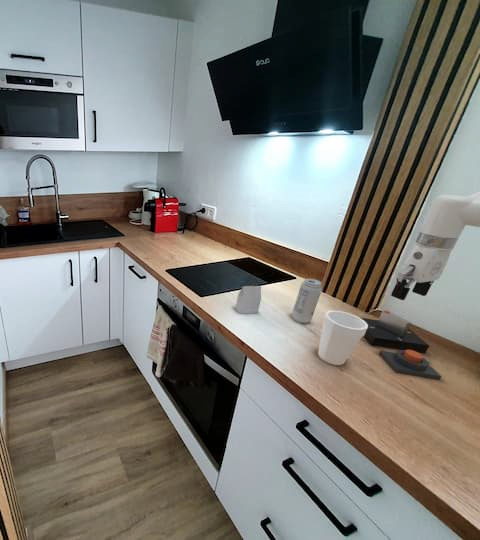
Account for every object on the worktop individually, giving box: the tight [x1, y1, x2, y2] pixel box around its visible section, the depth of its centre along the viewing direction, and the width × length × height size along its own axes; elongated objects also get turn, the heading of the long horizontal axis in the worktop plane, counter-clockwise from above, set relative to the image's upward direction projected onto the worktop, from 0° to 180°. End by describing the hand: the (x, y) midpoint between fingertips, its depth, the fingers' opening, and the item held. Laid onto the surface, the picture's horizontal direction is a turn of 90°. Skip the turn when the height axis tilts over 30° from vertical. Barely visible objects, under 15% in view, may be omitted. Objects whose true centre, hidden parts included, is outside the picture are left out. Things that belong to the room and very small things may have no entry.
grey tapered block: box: [235, 285, 262, 314], centre depth 103 cm, size 4×7×10 cm, turn 95°
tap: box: [377, 310, 412, 337], centre depth 90 cm, size 7×2×5 cm, turn 16°
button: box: [403, 350, 424, 363], centre depth 79 cm, size 4×4×2 cm
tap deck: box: [360, 317, 430, 354], centre depth 92 cm, size 14×12×3 cm
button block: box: [378, 349, 442, 381], centre depth 80 cm, size 10×8×3 cm
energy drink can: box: [291, 278, 323, 325], centre depth 98 cm, size 6×6×15 cm
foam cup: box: [317, 310, 368, 366], centre depth 80 cm, size 10×9×13 cm
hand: (408, 295), depth 85 cm, fingers open, 9 cm apart
